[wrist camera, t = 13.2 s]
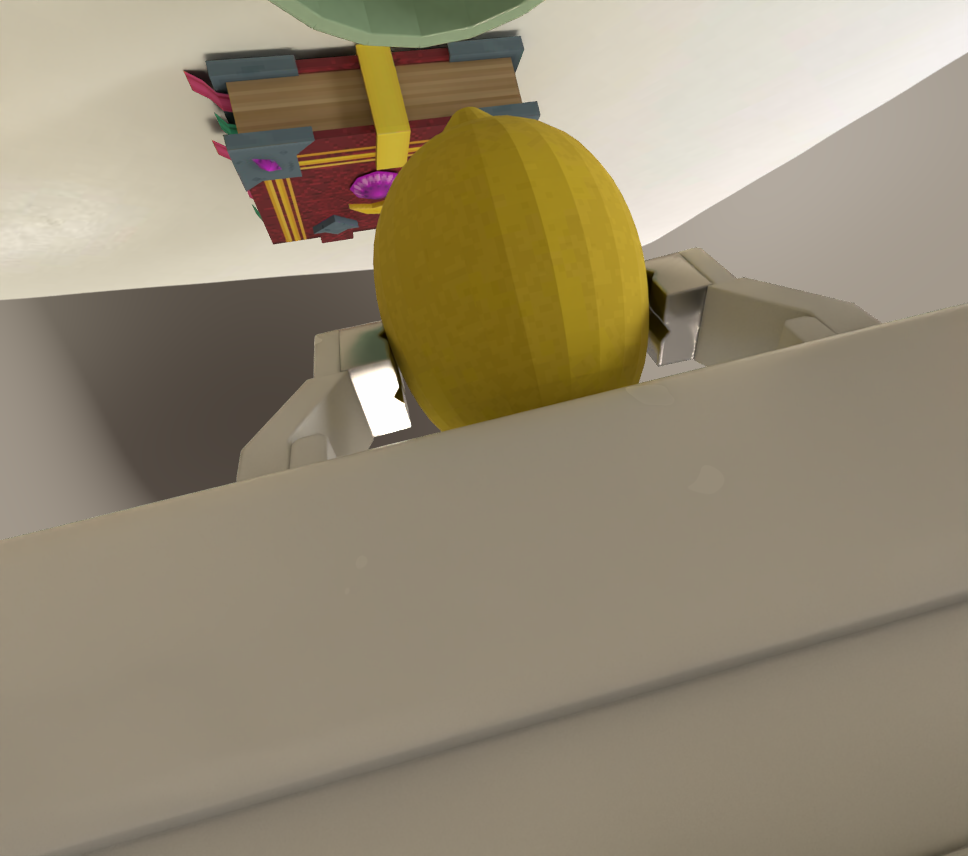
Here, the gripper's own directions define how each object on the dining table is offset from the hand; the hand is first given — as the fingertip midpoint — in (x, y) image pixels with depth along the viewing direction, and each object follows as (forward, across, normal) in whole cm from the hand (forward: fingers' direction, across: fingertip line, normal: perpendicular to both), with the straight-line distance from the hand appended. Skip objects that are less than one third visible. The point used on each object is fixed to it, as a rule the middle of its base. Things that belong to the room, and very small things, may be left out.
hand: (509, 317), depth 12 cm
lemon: (+3, 0, -4) cm, 5 cm away
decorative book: (+26, +2, +1) cm, 26 cm away
